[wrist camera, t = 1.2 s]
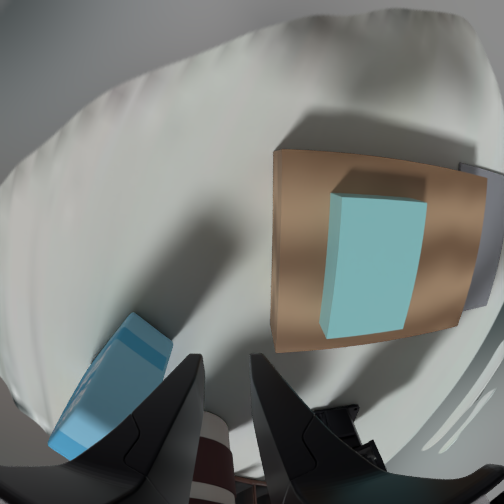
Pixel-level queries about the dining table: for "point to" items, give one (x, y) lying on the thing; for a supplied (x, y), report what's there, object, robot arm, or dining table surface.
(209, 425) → the coffee cup
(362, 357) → the dining table surface
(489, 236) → the mat
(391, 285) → the teal foam pad
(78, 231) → the dining table surface
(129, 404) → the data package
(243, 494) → the letter holder
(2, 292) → the dining table surface
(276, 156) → the brown flat block
